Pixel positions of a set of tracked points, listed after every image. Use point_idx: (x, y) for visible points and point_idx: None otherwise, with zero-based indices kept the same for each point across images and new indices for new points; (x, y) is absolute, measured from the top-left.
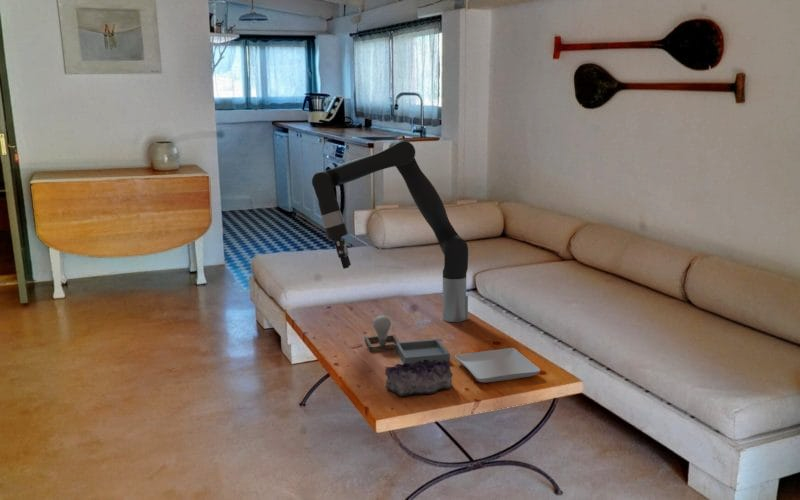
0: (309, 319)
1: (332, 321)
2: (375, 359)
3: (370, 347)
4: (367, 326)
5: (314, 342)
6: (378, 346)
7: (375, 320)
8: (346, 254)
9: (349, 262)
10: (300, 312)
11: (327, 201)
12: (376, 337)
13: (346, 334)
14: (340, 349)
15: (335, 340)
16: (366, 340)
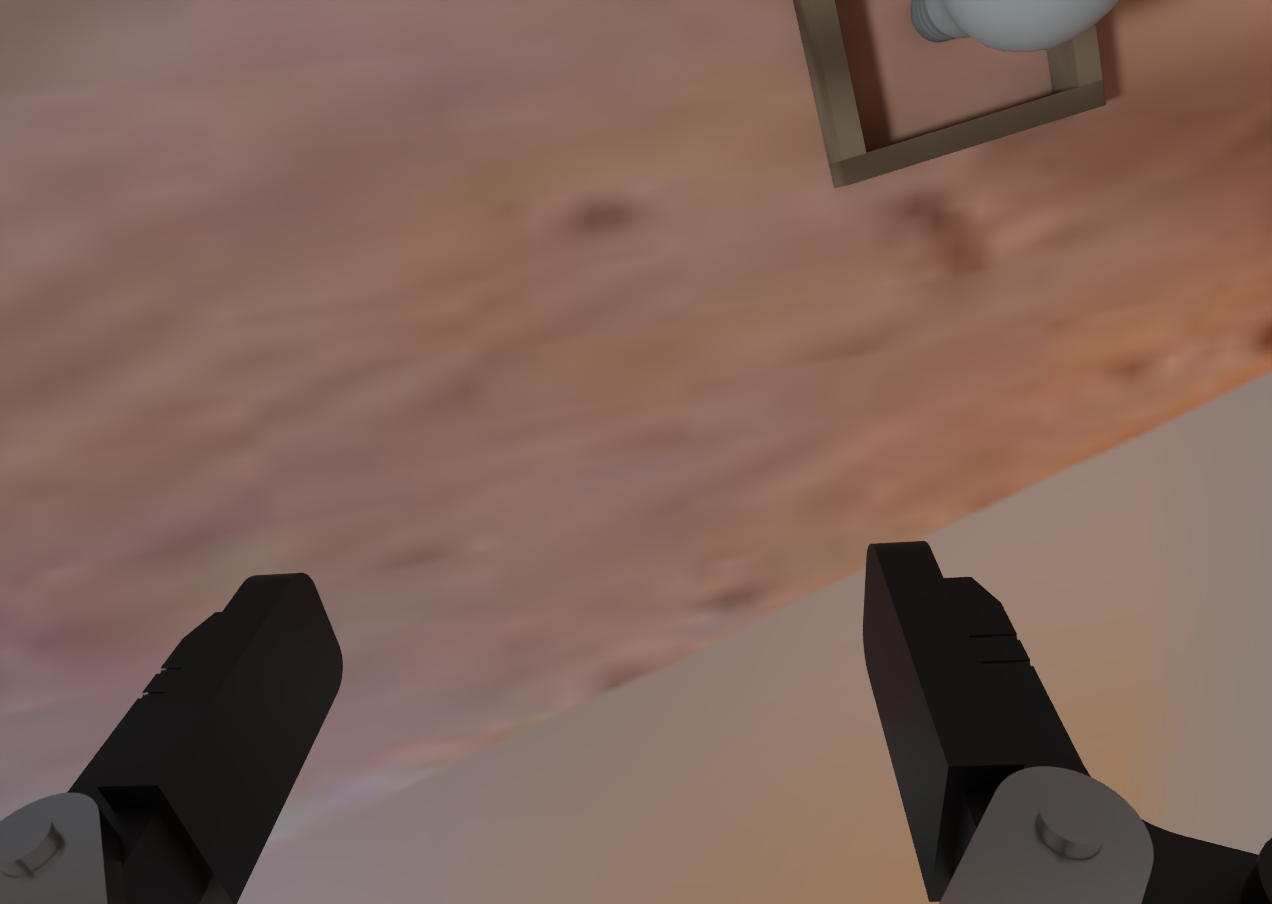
0: None
1: (323, 547)
2: (1238, 43)
3: (1101, 97)
4: (426, 219)
5: (839, 574)
6: (1095, 24)
7: (1103, 4)
8: (119, 872)
9: (272, 626)
10: None
11: None
12: (848, 73)
13: (653, 371)
14: (997, 357)
15: (797, 432)
16: (938, 155)
